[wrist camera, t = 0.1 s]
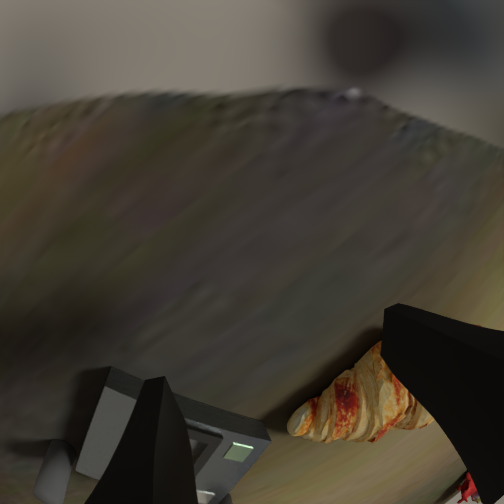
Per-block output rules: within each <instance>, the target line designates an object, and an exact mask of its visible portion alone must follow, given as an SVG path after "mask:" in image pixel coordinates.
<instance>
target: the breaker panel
mask: <svg viewBox="0 0 504 504" xmlns="http://www.w3.org/2000/svg"><path fill="white" fill-rule="evenodd" d="M143 383H144V381H143V380H141V379H138V378H136V377H134V376H132V375H129V374H127V373H125V372H123V371H121V370H118V369H116V368H114V367H111V369H110V372H109V374H108V377H107V379H106V382H105V384H104V387H103V389H102V392H101V394H100V397H99V400H98V402H97V405H96V408H95V410H94V413H93V416H92V419H91V421H90V424H89V427H88V430H87V433H86V436H85V439H84V441H83V444H82V447H81V450H80V454H79V458H78V462H77V465H76V469H75V471H77V472H80V473H82V474H85V475H87V476H90V477H92V478H95V479H97V480H100V478H101V477H102V475H103V473H104V471H105V469H106V468H107V466H108V464H109V462H110V460H111V458H112V456H113V454H114V452H115V450H116V448H117V445H118V443H119V441H120V439H121V437H122V435H123V432H124V430H125V428H126V425H127V423H128V421H129V418H130V416H131V413H132V411H133V408H134V406H135V403H136V401H137V398H138V396H139V393H140V390H141V388H142V385H143ZM172 393H173V392H172ZM173 395H174V397H175V400H176V402H177V404H178V406H179V408H180V410H181V412H182V414H183V416H184V418H185V421H186V426H187V430H188V435H189V439H190V444H191V449H192V457H193V465H194V474H195V481H196V489H197V496H198V503H199V504H218V503H219V502H220V501H221V500H222V499H223V498H224V497H225V496H226V495H227V494H228V493H229V491H230V490H231V489H232V488H233V487H234V486H235V485H236V484H237V482H238V481H239V480H240V479H241V478H242V477H243V476H244V474H245V473H246V472H247V471H248V470H249V468H250V467H251V466H252V465H253V464H254V462H255V461H256V460H257V459H258V458H259V456H260V455H261V454H262V453H263V451H264V450H265V449H266V448H267V446H268V445H269V444H270V443H271V439H270V437H269V435H268V432H267V430H266V428H265V426H264V423H263V421H260V420H257V419H253V418H249V417H246V416H242V415H239V414H235V413H232V412H229V411H225V410H222V409H219V408H216V407H213V406H210V405H207V404H204V403H201V402H198V401H195V400H192V399H189V398H186V397H184V396H181V395H178V394H176V393H173Z"/></svg>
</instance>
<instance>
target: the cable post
mask: <svg viewBox="0 0 504 504" xmlns="http://www.w3.org/2000/svg"><path fill="white" fill-rule="evenodd" d="M75 454H76V453H75V450H74V449H73V447H72V446H71V445H69V444H68V443H66V442H64V441H62V440H58V439H55V440H52V441H51V442H50V445H49V447H48V450H47V453H46V455H45V458H44V461H43V463H42V466H41V469H40V472H39V474H38V477H37V480H36V483H35V486H34V489H33V494H34V496H35V497H36V498H37V499H38V500H40V501H41V502H43V503H44V504H63V501H64V497H65V493H66V489H67V484H68V480H69V477H70V473H71V469H72V465H73V462H74V458H75Z"/></svg>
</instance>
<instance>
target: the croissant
mask: <svg viewBox="0 0 504 504" xmlns="http://www.w3.org/2000/svg"><path fill="white" fill-rule="evenodd" d="M472 325H473V324H472ZM476 326H480V325H476ZM480 327H481V326H480ZM381 343H382V340H381V341H379V342H378V343H376V344H375V345H374V346H373V347H372V348H371V349H369V351H368V352H367V353H366V354H365V355H364V356H363V357H362V358H361V359H360V360H359V361H358V362H357V363H355V366H354V368H352V369H351V370H345V371H344V372H343V373H342V374H340V375H339V376H338V377H337V378H335V379H334V381H333V382H332V383H331V385H330V386H329V387H328V388H326V389H325V390H324V391H323V392H322V395H321V396H318V397H315V398H312V399H309V400H308V401H307V402H306V403H305V404H303V405H302V406H301V407H299V408H298V409H297V410H296V411H295V412H294V413H293V414H292V416H291V418H290V419H289V421H288V423H287V429H288V432H289V433H290V434H291V435H292V436H301V437H302V438H305V439H310V440H311V441H316V442H318V441H320V442H322V443H330V442H332V441H333V440H335V439H340V438H342V439H343V440H345V441H347V440H348V441H354V442H364V441H369V442H372V443H374V442H376V441H377V440H378V439H379V438H381V437H382V436H383V435H384V434H385V433H386V432H387V431H388V430H398V429H404V430H412V429H416V428H420V429H421V428H423V427H425V426H427V425H428V424H430V423H431V422H432V421H434V420H435V419H434V418H433V417H432V416H431V415H430V413H429V412H428V411H427V410H426V409H425V408H424V407H423V406H422V405H421V404H420V403H419V402H418V401H417V400H416V399H415V398H414V397H413V395H412V394H411V393H410V392H409V391H408V390H407V389H406V388H405V387H404V386H403V385H402V384H401V383H400V382H399V380H398V379H397V378H396V377H395V376H394V375H393V373H392V372H391V370H390V369H389V368H388V366H387V365H386V363H385V362H384V360H383V359H382V357H381V356H380V351H381Z"/></svg>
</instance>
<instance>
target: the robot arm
mask: <svg viewBox="0 0 504 504" xmlns="http://www.w3.org/2000/svg"><path fill="white" fill-rule="evenodd" d="M380 356H381V357H382V359H383V360H384V362H385V363H386V365H387V366H388V368H389V369H390V370H391V372H392V373H393V375H394V376H395V377H396V378H397V379H398V380H399V382H400V383H401V384H402V385H403V386H404V387H405V388H406V389H407V390H408V391H409V392H410V393H411V394H412V395H413V397H414V398H415V399H416V400H417V401H418V402H419V403H420V404H421V405H422V406H423V407H424V408H425V409H426V410H427V411H428V412H429V413H430V415H431V416H432V417H433V418H434V419H435V420H436V422H437V423H438V424H439V425H440V427H441V428H442V430H443V431H444V432H445V434H446V435H447V437H448V438H449V440H450V441H451V443H452V444H453V446H454V447H455V449H456V451H457V452H458V454H459V455H460V457H461V459H462V461H463V462H464V464H465V466H466V468H467V470H468V472H469V474H470V476H471V478H472V480H473V482H474V485H475V487H476V489H477V492H478V494H479V497H480V500H481V502H482V503H483V504H494V503H495V502H496V501H497V500H499V499H500V498H501V497H502V496H503V495H504V331H500V330H494V329H489V328H485V327H480V326H476V325H472V324H468V323H465V322H461V321H458V320H454V319H451V318H448V317H444V316H441V315H438V314H435V313H431V312H428V311H425V310H422V309H418V308H415V307H412V306H408V305H404V304H400V303H398V304H395V305H393V306H390V307H388V308H385V309H384V322H383V333H382V343H381V351H380ZM84 504H199V503H198V496H197V489H196V481H195V474H194V465H193V457H192V449H191V444H190V439H189V435H188V430H187V426H186V421H185V418H184V416H183V414H182V412H181V410H180V408H179V406H178V404H177V402H176V400H175V397H174V395H173V393H172V391H171V389H170V387H169V384H168V382H167V380H166V378H165V376H163V377H158V378H153V379H148V380H145V381H144V383H143V385H142V388H141V390H140V393H139V396H138V398H137V401H136V403H135V406H134V408H133V411H132V413H131V416H130V418H129V421H128V423H127V425H126V428H125V430H124V432H123V435H122V437H121V439H120V441H119V443H118V445H117V448H116V450H115V452H114V454H113V456H112V458H111V460H110V462H109V464H108V466H107V468H106V469H105V471H104V473H103V475H102V477H101V478H100V480H99V482H98V483H97V485H96V487H95V488H94V490H93V492H92V493H91V495H90V496H89V498H88V499H87V500H86V502H85V503H84Z"/></svg>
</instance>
